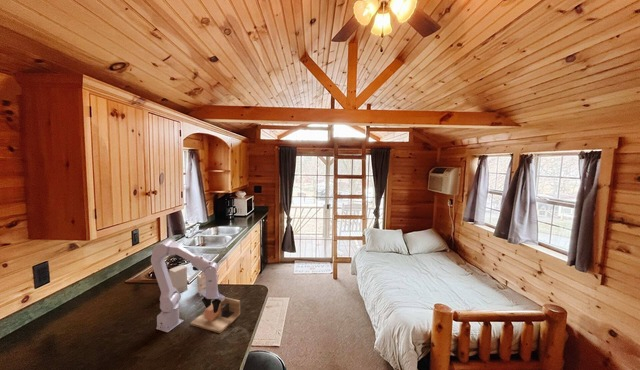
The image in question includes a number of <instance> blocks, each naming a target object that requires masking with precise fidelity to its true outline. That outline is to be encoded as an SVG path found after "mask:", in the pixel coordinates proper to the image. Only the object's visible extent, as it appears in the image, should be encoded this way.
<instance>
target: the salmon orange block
mask: <svg viewBox="0 0 640 370" xmlns="http://www.w3.org/2000/svg"><path fill="white" fill-rule="evenodd" d="M204 312H205V319H208V320H212V319H214V318H215V317H216V316H217V315H218V314H220V313H221V304H219V308H218V311H217V312H216V313H214V310H213V305H210V306H209V307H207V308H206V307H205V309H204Z"/></svg>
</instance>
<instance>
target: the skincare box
mask: <svg viewBox="0 0 640 370" xmlns="http://www.w3.org/2000/svg"><path fill="white" fill-rule="evenodd" d="M187 270H188V267H187V266H184V264H183V265H182V264H181V265H178V266H175V267H173V268H170V269H168V273H169V276H170V279H171V282H172V285H173V287H174V288H176V289H177V291H178V292H179V293H180V294H182V293H183V292H185V291H187V290H189V289H188V271H187Z"/></svg>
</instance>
